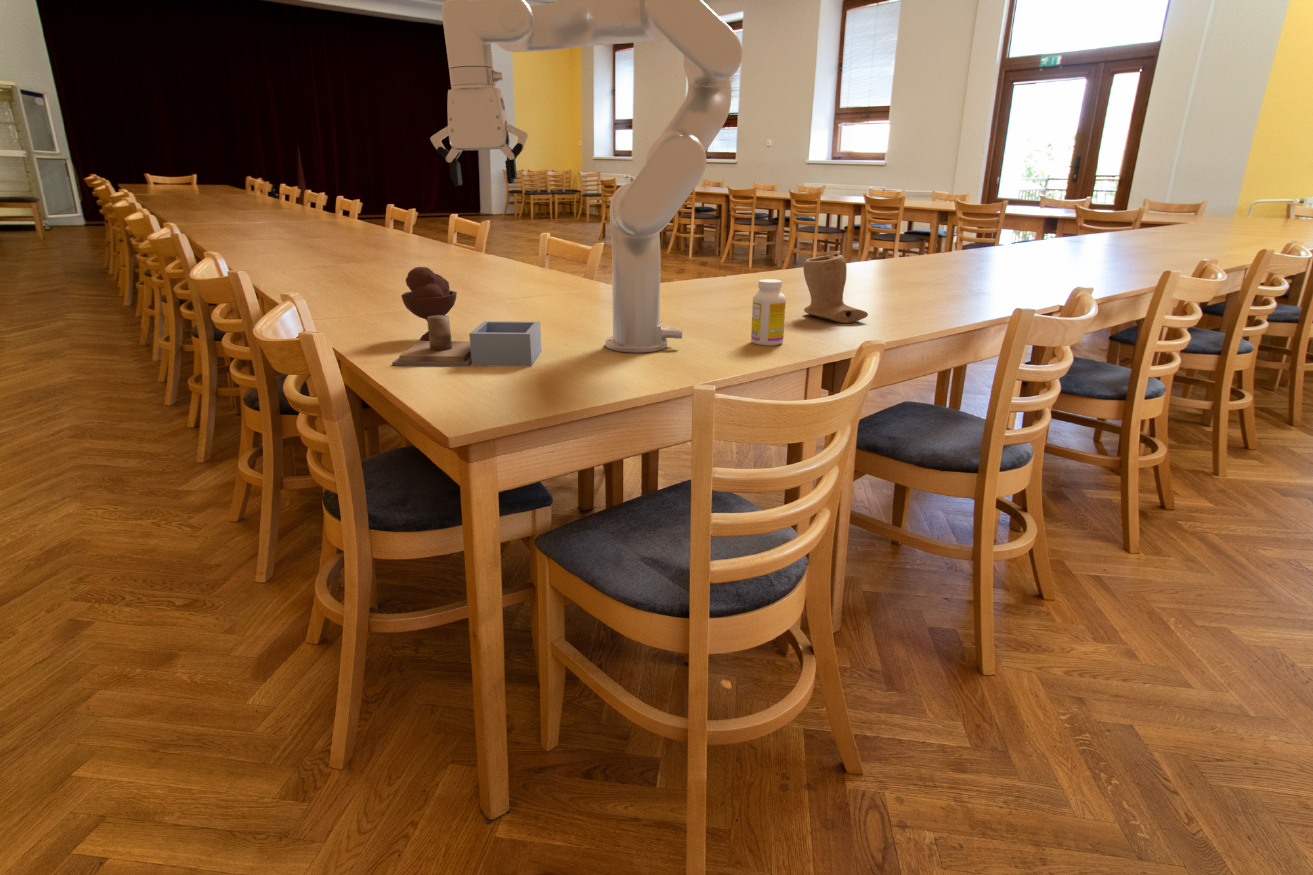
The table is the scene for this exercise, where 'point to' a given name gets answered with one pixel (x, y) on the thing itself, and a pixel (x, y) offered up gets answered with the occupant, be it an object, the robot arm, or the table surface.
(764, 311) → the supplement bottle
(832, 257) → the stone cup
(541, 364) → the table surface
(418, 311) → the ice cream bowl
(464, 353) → the lid
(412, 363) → the mat
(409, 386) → the table surface
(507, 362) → the open box
